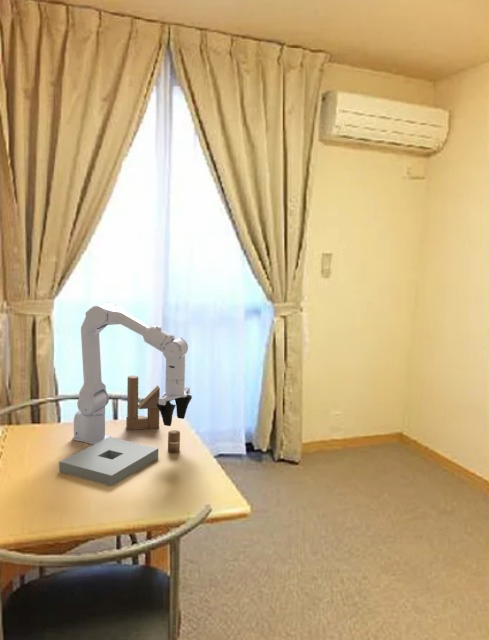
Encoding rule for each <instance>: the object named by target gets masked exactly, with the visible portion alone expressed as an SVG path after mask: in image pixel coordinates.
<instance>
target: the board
mask: <svg viewBox="0 0 489 640" xmlns="http://www.w3.org/2000/svg"><path fill="white" fill-rule="evenodd" d="M157 459H159V448H158V447H154V446H151V445H146V444H142V443H141V444H140V443H138V442H132V441H130V440H129V441H128V440H125V439H120V438H116V437H112V436H111V437H108V438H106V439H104V440H102V441H100V442H98V443H96V444H91V445H90V446H88V447H86V448H84V449H82V450H80V451H78V452H76V453H74V454H72V455H70V456H68V457H65V458H64V459H62V460H60V461H59V464H58V467H59V470H58V471H59V472H60V473H64V474H66V475H69V474H70V475H69V476H74V477H77V478H81V479H85V480H87V481H88V480H89V481H91V482H94V483H98V484H103V485H106V486H109V487H112V486H114V485H116V484H117V483H119V482H122V481H123V480H125V479H126V478H128V477H129V476H131V475H132V474H134V473H136V472H138V471H139V470H141V469H142V468H144V467H146V466H148V465H149V464H151V463H153V462H154V461H155V460H157Z"/></svg>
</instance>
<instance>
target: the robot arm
mask: <svg viewBox="0 0 489 640" xmlns="http://www.w3.org/2000/svg"><path fill="white" fill-rule="evenodd" d="M113 325H115V326H116V325H121V326H123V327H125V328H126V329H129V330H131V331H132V332H134V333H136V334H138V335H141V336H142V337H143V338H142V339H143V341H144V343H146V344H147V345H150V346H151V347H153V348H155V349H156V350H158V351H160V352H161V353H162V354H163V357H165V358H164V359H165V387H164V389H165V390H164V392H163V394H162V395H160V398H159V402H157V407H158V408H159V413H160V415H161V419H162V422H163V425H164V426H167V427H171V425H172V422H173V414H174V410H175V408H176V418H178V419H182V420H183V419H185V417H186V413H187V409H188V408H189V407H188V406H189V404H190V402H191V401H192V398H193V395H190V394H191V391H190V390H191V387H188V386H185V383H186V382H185V379H186V378H185V374H186V373H185V372H186V369H185V368H186V363H185V362H186V357H185V356H186V354H187V353H188V349H189V346H188V343H187V341H186V340H185V339H184V338H183V337H179V336H178V337H175V335H174V334H170V333H168V332H167V331H165V330H163V329H162V326H160V325H151V326H148V325H147V324H146V323H144V322H143V321H141V320H140V319H138V318H136V317H135V315H132V314H131V313H129V312H128V311H126V310H125V309H124V308H123V307H122V306H120V305H117V304H116V303H114V302H112V301H111V302H106V303H104V304H100V305H94V306H92V307H91V308H89V309H88V310H87V311H86V312H85V318H84V320H83V321H82V324H81V327H80V334H81V335H80V336H81V337H80V339H81V355H82V356H81V357H82V358H81V359H82V373H83V374H82V375H83V385H82V386H81V388H80V390H79V392H78V394H79V396H78V397H79V398H78V400H77V402H76V404H77V405H76V406H77V410H78V411H77V412H76V413H75V415H74V417H73V437H71V439H72V440H74V441H78V442H82V443H86V444H91V445H94V444H96V443H98V442H100V441H102V440H104V439H106V438H108V437H112V436H111V435H110V434H106V406H107V405H108V403H109V401H110V397H109V394H108V391H107V388H106V384H105V383H104V382H103V381H102V366H101V365H102V362H101V360H102V359H101V342H100V333H101V332H102V331H103V330H104V329H105V328H106V327H107V326H113ZM173 400H174V401H175V404H173V403H171V402H172V401H173Z"/></svg>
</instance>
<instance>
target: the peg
mask: <svg viewBox="0 0 489 640" xmlns="http://www.w3.org/2000/svg"><path fill="white" fill-rule="evenodd" d="M180 442H181V432H180V430H178V429H177V430H173V429H172V430H169V431H168V433H167V453H171V454H177V453H179V452H180V451H181V449H180V448H181V447H180V446H181V443H180Z"/></svg>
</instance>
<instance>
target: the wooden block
mask: <svg viewBox="0 0 489 640" xmlns="http://www.w3.org/2000/svg"><path fill="white" fill-rule="evenodd" d="M126 391H127V394H126V395H127V402H126V404H127V409H126V410H127V415H126V421H125V422H126V423H125V424H126V425H125V426H126V429H127V431H130V430H133V431H134V430H144V429H150V430H151V429H159V428H160V410H159V408H158V407H157V402H159V398H160V397H161V395H160V393H161V392H160V391H161V389H160V386H159V385H156V387H154V389H152V390H151V391H150V393H149V394H147V395H146V396H145V397H144V398H143V399H142V400H141V401H140V403H139V376H138V375H128V376H127V390H126ZM144 409H146V410H147V416H145V415H139V410H144Z"/></svg>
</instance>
